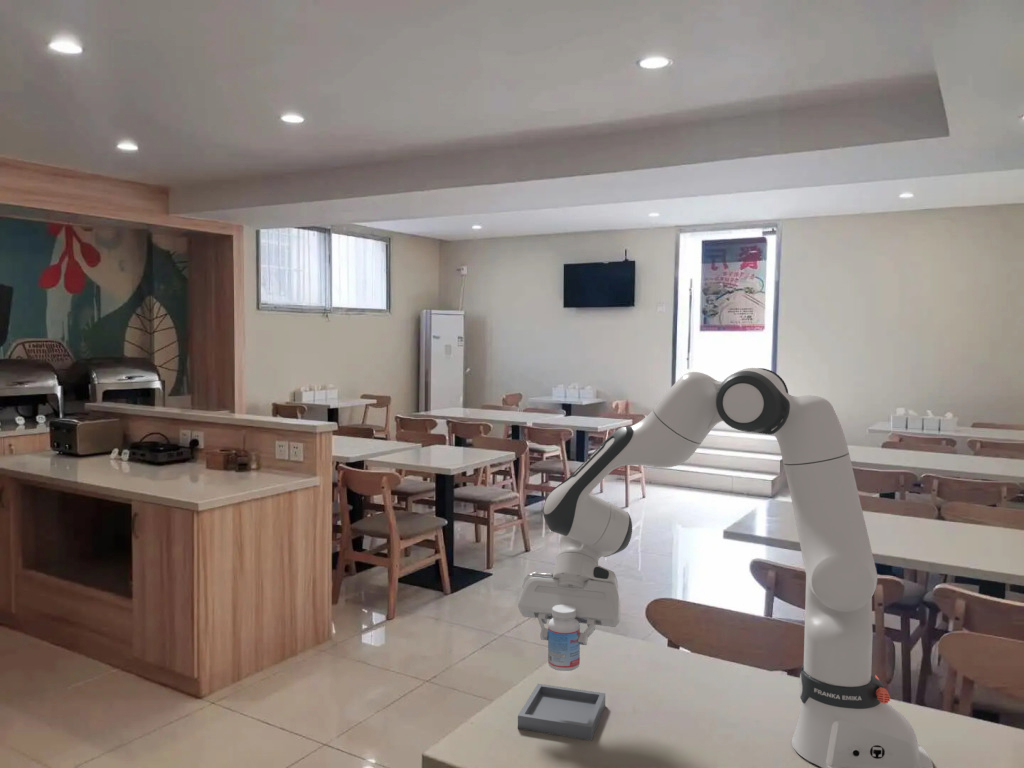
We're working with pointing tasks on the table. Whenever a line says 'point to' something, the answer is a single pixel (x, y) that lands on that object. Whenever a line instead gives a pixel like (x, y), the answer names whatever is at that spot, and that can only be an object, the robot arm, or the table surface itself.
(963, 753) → the table surface
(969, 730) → the table surface
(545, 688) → the tray
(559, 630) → the pill bottle
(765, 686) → the table surface
